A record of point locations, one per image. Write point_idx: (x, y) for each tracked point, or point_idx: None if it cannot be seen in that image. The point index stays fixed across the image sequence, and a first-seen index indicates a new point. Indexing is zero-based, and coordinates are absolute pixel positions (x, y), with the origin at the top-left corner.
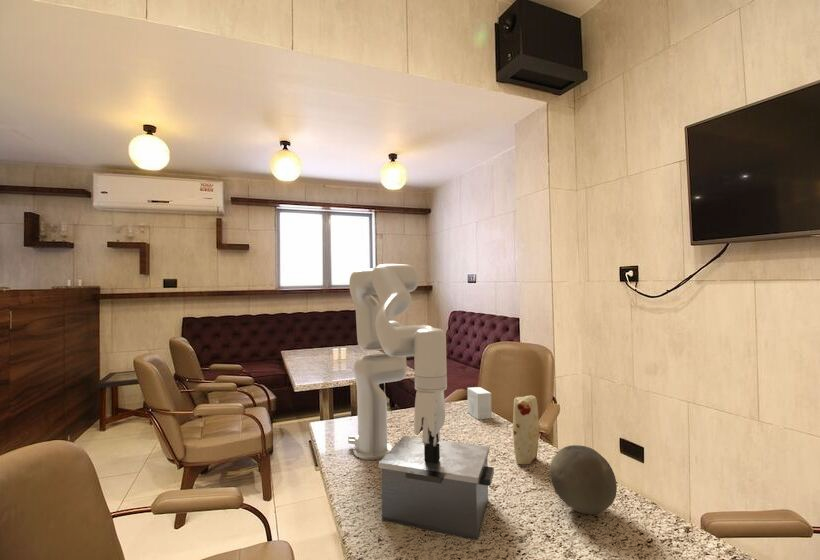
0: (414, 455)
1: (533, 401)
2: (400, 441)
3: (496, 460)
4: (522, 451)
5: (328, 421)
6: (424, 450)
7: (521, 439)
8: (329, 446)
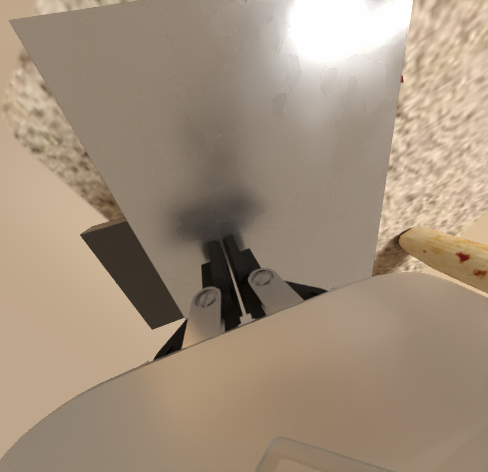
0: (231, 175)
1: None
2: None
3: (410, 202)
4: (418, 254)
5: None
6: (210, 263)
7: (442, 264)
8: None
